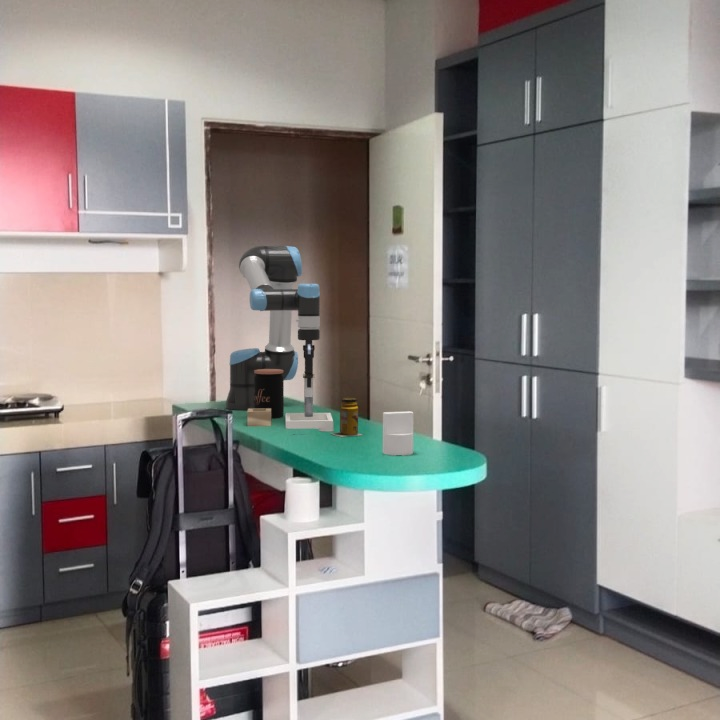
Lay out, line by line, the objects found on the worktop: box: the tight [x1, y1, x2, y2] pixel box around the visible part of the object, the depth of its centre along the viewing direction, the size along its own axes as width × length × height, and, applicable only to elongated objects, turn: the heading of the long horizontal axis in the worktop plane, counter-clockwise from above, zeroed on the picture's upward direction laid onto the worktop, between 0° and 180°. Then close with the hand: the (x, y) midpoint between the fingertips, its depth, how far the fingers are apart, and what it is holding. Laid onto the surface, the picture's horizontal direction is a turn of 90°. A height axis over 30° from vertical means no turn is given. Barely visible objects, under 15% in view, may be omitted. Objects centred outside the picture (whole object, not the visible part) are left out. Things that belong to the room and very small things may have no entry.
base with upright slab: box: [382, 410, 414, 456], centre depth 281 cm, size 9×9×12 cm
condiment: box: [330, 397, 363, 438], centre depth 314 cm, size 7×8×12 cm
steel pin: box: [302, 373, 316, 417], centre depth 329 cm, size 4×4×15 cm
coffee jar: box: [254, 369, 285, 420], centre depth 347 cm, size 11×11×18 cm
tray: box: [284, 412, 334, 432], centre depth 330 cm, size 20×16×4 cm
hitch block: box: [246, 408, 272, 427], centre depth 328 cm, size 8×8×6 cm
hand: (308, 395), depth 329 cm, fingers closed on steel pin, 4 cm apart
